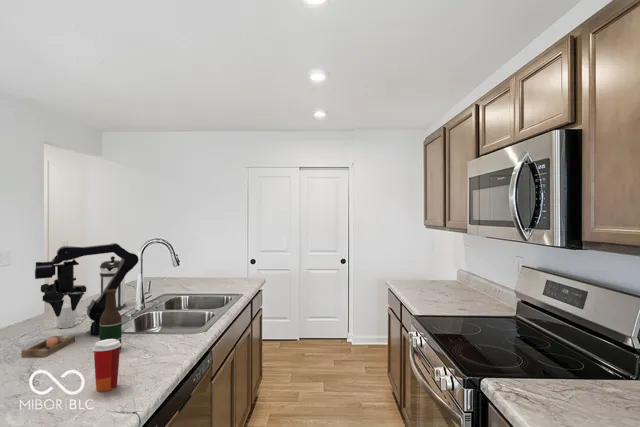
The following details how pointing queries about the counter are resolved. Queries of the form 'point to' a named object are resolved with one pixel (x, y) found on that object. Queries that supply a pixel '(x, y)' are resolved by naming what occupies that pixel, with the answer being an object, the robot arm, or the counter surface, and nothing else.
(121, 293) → the coffee press
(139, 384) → the counter surface
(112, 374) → the paper cup
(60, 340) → the tan wooden brick
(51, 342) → the ball
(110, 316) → the beer bottle
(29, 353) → the brown wooden tray
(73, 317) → the white cup
